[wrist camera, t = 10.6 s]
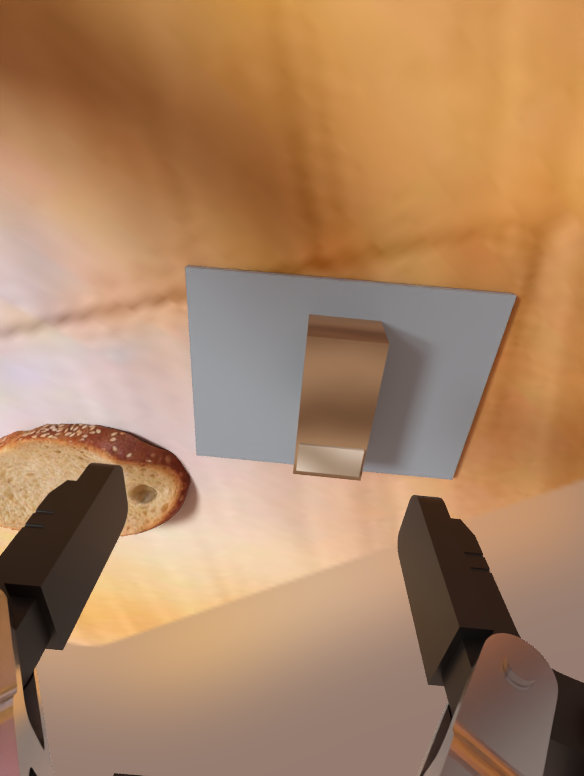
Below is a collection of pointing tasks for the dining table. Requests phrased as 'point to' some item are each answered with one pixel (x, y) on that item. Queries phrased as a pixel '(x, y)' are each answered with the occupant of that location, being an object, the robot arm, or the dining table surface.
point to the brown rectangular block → (338, 395)
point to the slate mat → (287, 353)
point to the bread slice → (71, 457)
